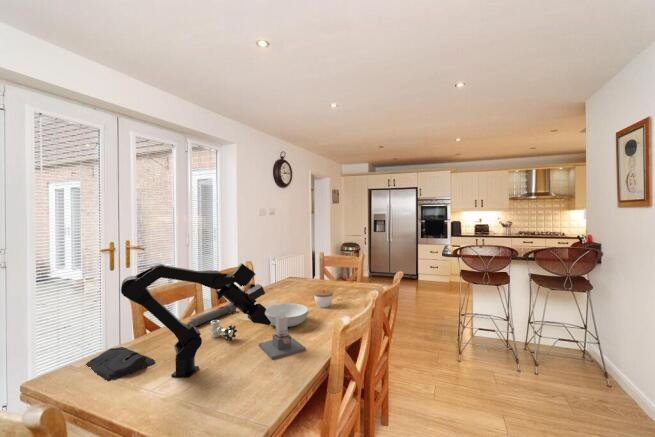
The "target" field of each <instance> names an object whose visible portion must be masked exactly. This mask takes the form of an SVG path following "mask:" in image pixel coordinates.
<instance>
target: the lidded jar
mask: <svg viewBox="0 0 655 437" xmlns="http://www.w3.org/2000/svg"><path fill="white" fill-rule="evenodd" d="M313 293H314V294H313V295H314V296H313V297H314V303H315V304H316V306H317V307H319V308H320V309H321V308H325V309H326V308H329V306H330V305H331V304H332V302H333V296H334V292H333V291H331V290H326V289H322V290H316V291H314V292H313Z"/></svg>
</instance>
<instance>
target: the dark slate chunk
mask: <svg viewBox="0 0 655 437" xmlns="http://www.w3.org/2000/svg"><path fill="white" fill-rule="evenodd" d="M155 362H156V361H155V359H153V358H151V357H149V356H146V355H144V354H141V353H139V352H138V351H134V350H131V349H129V348H127V347H124V346H119V347H115V348H114V347H113V348H109V349H107V350H105V351H104V352H102V353H100V354H99V355H98V356H96V357H93V358H91V359H90V360H89V361H87V362H86V363H85V366H86V365H87V366H88V367H91V369H92V370H93V371H94V372H93V371H92V370H91V369H90V370H91V371H92V372H93V373H94V374H96V373H97V374H96V375H98V376H99V377H101V378H102V379H103V380H105V381H106V380H107V381H106V382H110V381H117V380H118V379H121V377H122V378H123V376H124V377H126V376H129V375H133V374H135V373H138V372H141V371H142V370H144V369H146V368H148V367H151V365H153V364H155ZM87 366H86V367H87ZM88 367H87V368H88Z"/></svg>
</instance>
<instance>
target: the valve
mask: <svg viewBox="0 0 655 437" xmlns="http://www.w3.org/2000/svg"><path fill="white" fill-rule="evenodd" d="M220 324H221V320H219V319H212V320H210V328H209V329H210V337H211V338H218V337H220V336H221V334H223V337H225V338H224V340H225V342H226V341H228V342H229V341H230V342H231V341H233V338H236V337H237V336H236V334H235V333H238V330H237V329H236V328H237V327H236V325H232V324H229V325H228V328H226V327H225V328H224V327H223V326H222V325H220Z"/></svg>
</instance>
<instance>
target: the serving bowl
mask: <svg viewBox="0 0 655 437" xmlns="http://www.w3.org/2000/svg"><path fill="white" fill-rule="evenodd" d="M265 308H266V307H265ZM308 314H309V308H308V307H307V306H306V305H303V304H301V303H292V302H290V303H278V304H273V305H270V306H268V307H267V308H266V311H265V315H266V316H267V318H268V319H269V320H270V322H271V324H270V325H272V326H275V327H276V316H279V315H285V316H287V325H288V327H289V328H290V327H295V326H298V325H300V324H302V323H303V322H304V321H305V320H306V319H307V317H308Z"/></svg>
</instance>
